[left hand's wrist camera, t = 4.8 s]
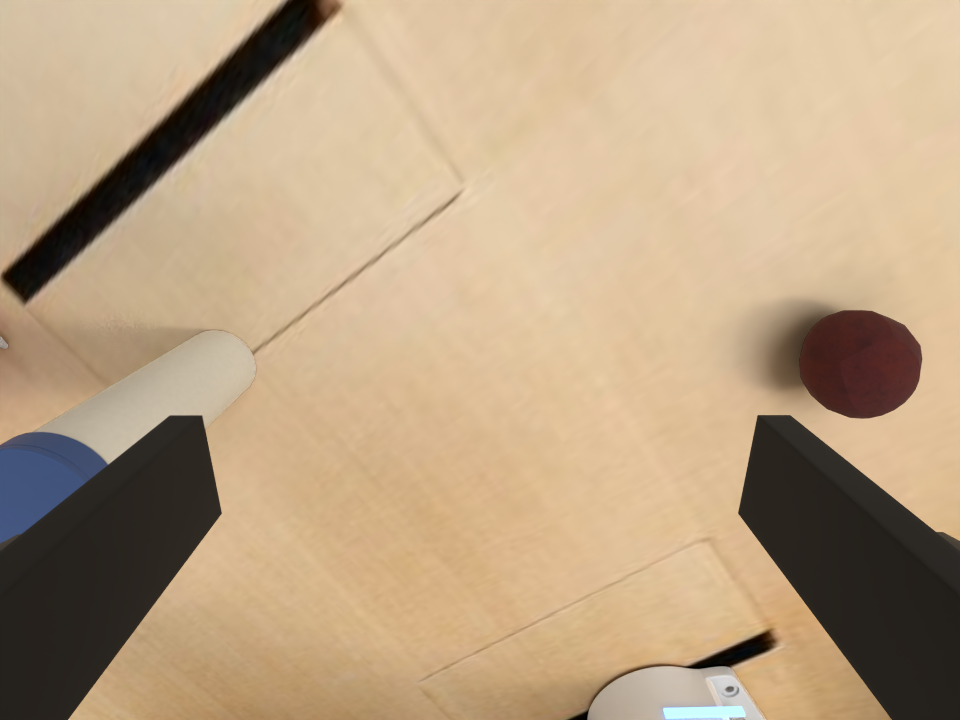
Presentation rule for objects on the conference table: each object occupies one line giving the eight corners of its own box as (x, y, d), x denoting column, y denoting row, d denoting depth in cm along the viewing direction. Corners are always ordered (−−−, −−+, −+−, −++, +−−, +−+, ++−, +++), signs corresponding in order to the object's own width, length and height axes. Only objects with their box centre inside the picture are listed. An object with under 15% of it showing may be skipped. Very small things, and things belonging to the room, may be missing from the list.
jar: (175, 333, 41) (-46, 454, 24) (246, 326, 41) (75, 442, 24) (196, 399, 43) (5, 555, 26) (263, 392, 43) (117, 545, 25)
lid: (-28, 437, 25) (-62, 455, 23) (97, 425, 25) (71, 442, 23) (22, 542, 27) (-5, 565, 25) (138, 532, 27) (117, 555, 25)
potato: (801, 408, 43) (860, 452, 36) (763, 332, 41) (818, 364, 34) (890, 361, 41) (968, 398, 35) (855, 279, 39) (932, 302, 33)
